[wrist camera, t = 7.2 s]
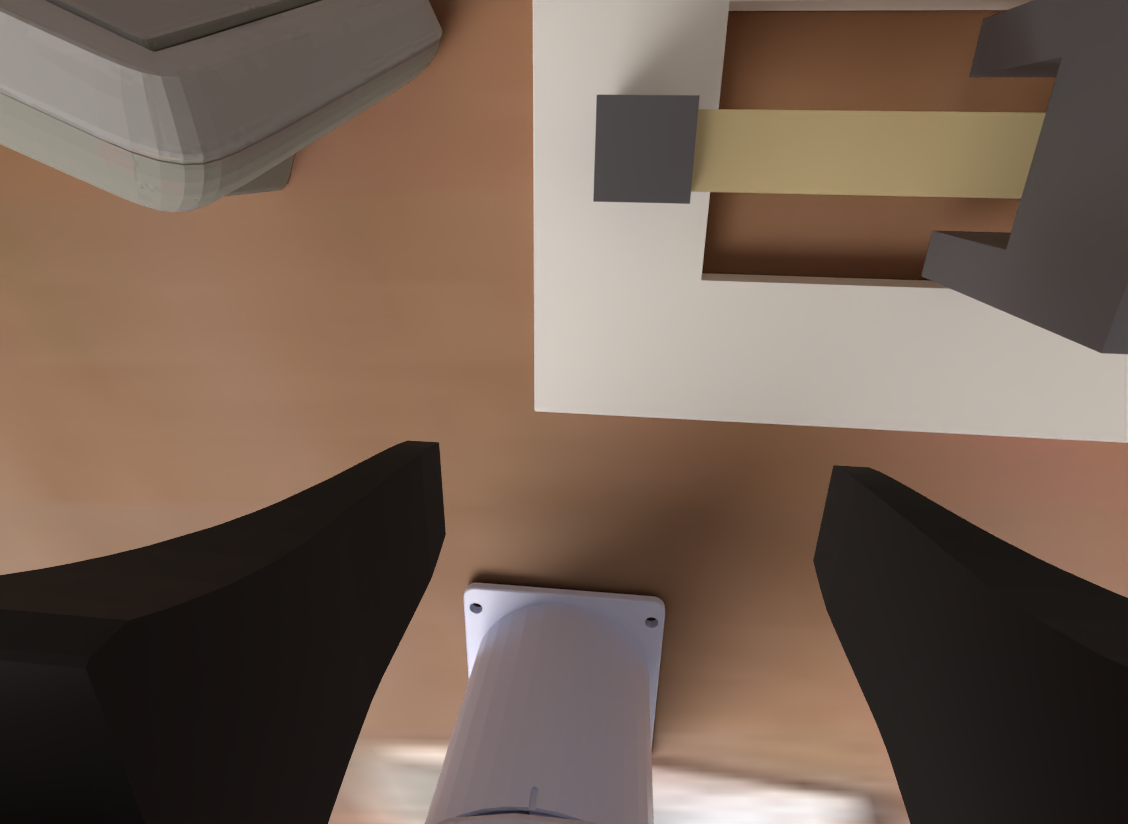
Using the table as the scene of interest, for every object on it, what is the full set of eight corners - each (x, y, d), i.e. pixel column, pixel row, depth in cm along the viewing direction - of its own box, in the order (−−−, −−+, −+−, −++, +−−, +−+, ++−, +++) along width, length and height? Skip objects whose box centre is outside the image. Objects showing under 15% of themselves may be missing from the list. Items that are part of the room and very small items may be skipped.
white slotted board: (1155, 429, 20) (1367, 541, 14) (539, 397, 21) (506, 486, 16) (1391, -118, 14) (1894, -296, 9) (539, -102, 16) (488, -241, 10)
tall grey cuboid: (1014, 279, 17) (1256, 359, 10) (921, 276, 17) (1101, 353, 10) (1092, 19, 14) (1473, -91, 8) (983, 19, 14) (1265, -88, 8)
